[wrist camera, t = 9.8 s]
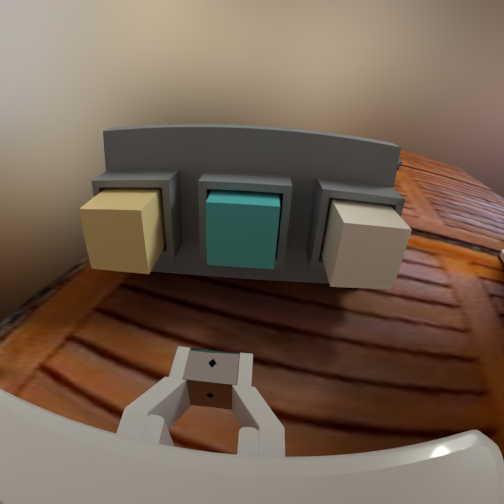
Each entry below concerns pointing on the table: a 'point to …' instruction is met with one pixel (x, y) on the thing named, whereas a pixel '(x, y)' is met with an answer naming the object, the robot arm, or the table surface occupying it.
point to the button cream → (363, 244)
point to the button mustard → (124, 229)
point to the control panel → (249, 186)
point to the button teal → (242, 228)
